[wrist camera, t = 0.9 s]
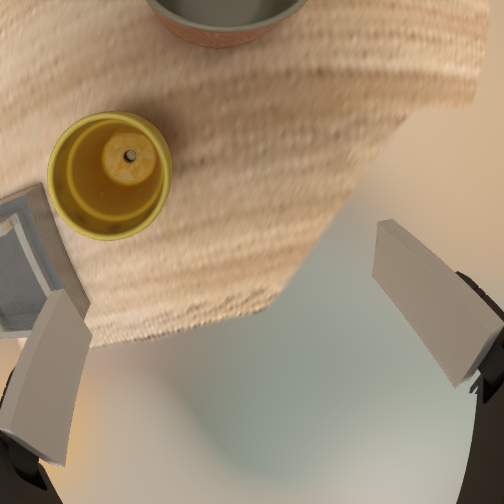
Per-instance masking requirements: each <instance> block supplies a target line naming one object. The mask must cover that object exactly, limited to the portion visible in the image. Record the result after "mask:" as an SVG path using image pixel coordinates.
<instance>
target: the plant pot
mask: <svg viewBox="0 0 504 504" xmlns="http://www.w3.org/2000/svg"><path fill="white" fill-rule="evenodd" d="M129 150H133V151H134V152H135V153H136V158H135V160H133V161H128V160H126V159H125V153H126V152H127V151H129ZM171 181H172V158H171V154H170V150H169V147H168V145H167V143H166V141H165V139H164V137H163V136H162V134H161V133H160V132H159V131H158V129H157V128H156V127H155V126H154V125H152V124H151V123H150V122H149V121H147V120H146V119H144V118H142V117H140V116H138V115H135V114H132V113H128V112H121V111H109V112H101V113H96V114H92V115H90V116H87V117H85V118H82V119H81V120H79V121H77V122H76V123H74V124H73V125H71V126H70V127H69V128H68V129H67V130H66V131H65V132H64V133H63V134H62V136H61V137H60V138H59V140H58V141H57V143H56V145H55V146H54V149H53V151H52V153H51V156H50V160H49V164H48V172H47V183H48V190H49V194H50V197H51V200H52V203H53V205H54V207H55V209H56V210H57V212H58V214H59V215H60V216H61V218H62V219H63V220H64V221H65V222H66V223H67V224H68V225H69V226H70V227H71V228H73V229H74V230H75V231H77V232H78V233H80V234H82V235H84V236H87V237H89V238H92V239H97V240H103V241H113V240H120V239H124V238H127V237H130V236H133V235H135V234H137V233H139V232H140V231H142V230H143V229H145V228H146V227H147V226H148V225H150V224H151V223H152V222H153V221H154V219H155V218H156V217H157V216H158V214H159V213H160V211H161V210H162V208H163V206H164V204H165V202H166V199H167V196H168V193H169V190H170V186H171Z"/></svg>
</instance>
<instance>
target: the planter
mask: <svg viewBox="0 0 504 504" xmlns="http://www.w3.org/2000/svg"><path fill="white" fill-rule="evenodd" d="M146 1H147V2H148V4H149V5H150V7H151V8H152V10H153V11H154V12H155V14H156V15H157V17H158V18H159V19H160V20H161V22H162V23H163V24H164V25H165V26H166V27H167V28H168V29H169V30H170V31H171V32H172V33H174V34H175V35H176V36H178V37H180V38H181V39H183V40H185V41H187V42H190V43H192V44H196V45H199V46H204V47H213V48H221V47H231V46H236V45H240V44H243V43H246V42H249V41H251V40H253V39H255V38H257V37H259V36H261V35H263V34H264V33H266V32H268V31H269V30H271V29H272V28H274V27H275V26H277V25H278V24H279V23H281V22H282V21H284V20H285V19H287V18H288V17H290V16H291V15H292V14H294V13H295V12H297V11H298V10H299V9H300V8H301V7H302V6H303V5H304V4H305V3H306V2H307V0H146Z"/></svg>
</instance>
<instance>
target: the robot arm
mask: <svg viewBox="0 0 504 504" xmlns="http://www.w3.org/2000/svg"><path fill="white" fill-rule="evenodd" d="M372 277H373V278H374V279H375V280H376V281H377V283H378V284H379V285H380V286H381V288H382V289H383V290H384V291H385V293H386V294H387V295H388V296H389V298H390V299H391V300H392V301H393V303H394V304H395V305H396V307H397V308H398V309H399V310H400V312H401V313H402V314H403V315H404V317H405V318H406V320H407V321H408V322H409V323H410V325H411V326H412V327H413V329H414V330H415V331H416V333H417V334H418V336H419V337H420V338H421V340H422V341H423V343H424V344H425V345H426V347H427V348H428V349H429V351H430V352H431V354H432V355H433V357H434V358H435V359H436V361H437V362H438V364H439V365H440V366H441V368H442V370H443V371H444V373H445V374H446V376H447V377H448V378H449V380H450V382H451V383H452V385H453V386H454V388H455V389H456V388H458V387H459V386H461V385H462V384H464V383H465V382H467V381H468V380H470V378H471V377H472V376H473V375H474V373H475V372H476V370H477V369H478V370H479V371H480V373H481V374H480V376H479V377H478V378H477V380H476V381H475V383H474V384H473V385H472V386H471V388H470V392H469V393H472V392H473V391H474V390H475V388H476V387H477V386H478V389H477V391H476V392H475V394H477V404H476V414H475V422H474V429H473V436H472V442H471V448H470V453H469V458H468V462H467V467H466V471H465V475H464V479H463V483H462V487H461V490H460V493H459V497H458V500H457V503H456V504H504V312H503V311H502V310H501V309H500V307H499V306H498V305H497V304H496V303H495V302H494V301H493V300H492V299H491V298H490V297H489V296H488V295H486V294H485V292H484V291H483V290H482V289H481V288H479V287H478V285H477V284H476V283H475V282H474V281H472V279H470V278H469V277H468V276H466V275H464V274H462V273H460V272H458V271H457V272H454V271H453V270H452V269H451V268H450V267H449V266H448V265H446V264H445V263H444V262H443V261H442V260H441V259H440V258H439V257H437V256H436V255H435V254H434V253H433V252H432V251H431V250H430V249H428V248H427V247H426V246H425V245H424V244H423V243H421V242H420V241H419V240H418V239H417V238H415V237H414V236H413V235H411V233H409V232H408V231H407V230H406V229H404V228H403V227H402V226H401V225H399V224H398V223H397V222H396V221H394V220H393V219H389V220H384V221H380V222H378V223H377V235H376V246H375V257H374V266H373V273H372ZM91 338H92V333H91V332H90V330H89V329H88V327H87V326H86V324H85V322H84V321H83V319H82V318H81V316H80V314H79V313H78V311H77V310H76V308H75V306H74V305H73V303H72V301H71V299H70V298H69V296H68V294H67V292H66V291H65V289H60V290H55V291H51V293H50V295H49V297H48V299H47V300H46V302H45V304H44V306H43V308H42V310H41V312H40V314H39V316H38V318H37V320H36V322H35V324H34V326H33V328H32V330H31V332H30V334H29V336H28V339H27V341H26V343H25V345H24V348H23V350H22V352H21V355H20V357H19V360H18V362H17V365H16V366H15V368H14V369H13V370H12V372H11V373H10V376H9V378H8V381H7V383H6V387H5V389H4V392H3V396H2V398H1V401H0V504H63V503H62V501H61V499H60V498H59V496H58V494H57V492H56V490H55V489H54V487H53V485H52V483H51V481H50V479H49V477H48V475H47V473H46V471H45V469H44V467H43V466H42V465H41V464H40V463H38V461H39V458H41V459H42V460H44V461H46V462H47V463H49V464H52V465H57V466H62V467H65V462H66V454H67V446H68V440H69V433H70V427H71V422H72V416H73V410H74V406H75V401H76V396H77V392H78V388H79V383H80V379H81V375H82V371H83V367H84V363H85V360H86V356H87V352H88V349H89V345H90V342H91Z"/></svg>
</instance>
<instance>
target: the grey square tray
mask: <svg viewBox="0 0 504 504" xmlns="http://www.w3.org/2000/svg"><path fill="white" fill-rule="evenodd" d="M60 289H65V291H66V292H67V294H68V296H69V298H70V299H71V301H72V303H73V305H74V306H75V308H76V310H77V311H78V313H79V314H80V316H81V318H82V319H83V321H84V319H85V316H86V313H87V311H88V308H89V305H90V302H89V300H88V298H87V296H86V294H85V292H84V290H83V288H82V286H81V284H80V282H79V280H78V278H77V275H76V273H75V271H74V269H73V267H72V264H71V262H70V260H69V257H68V255H67V253H66V250H65V248H64V245H63V243H62V240H61V238H60V235H59V233H58V230H57V227H56V225H55V222H54V219H53V216H52V214H51V211H50V208H49V205H48V202H47V199H46V195H45V192H44V189H43V186H42V183H39V184H37V185H34V186H32V187H29V188H26V189H24V190H21V191H19V192H17V193H14V194H12V195H9V196H7V197H5V198H3V199H0V338H23V337H28V336H29V334H30V332H31V330H32V328H33V326H34V324H35V322H36V320H37V318H38V316H39V314H40V312H41V310H42V308H43V306H44V304H45V302H46V300H47V299H48V297H49V295H50V293H51V291H55V290H60Z"/></svg>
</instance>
